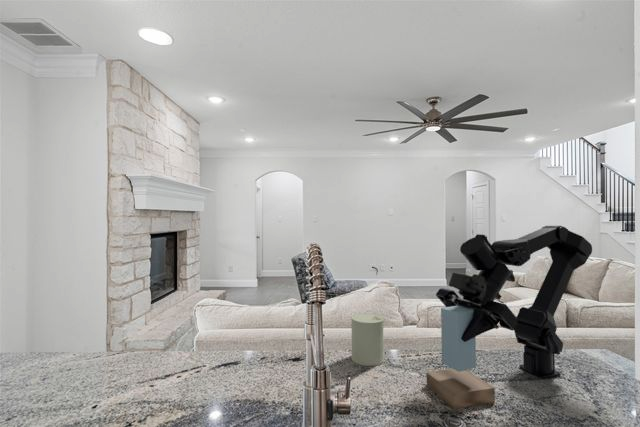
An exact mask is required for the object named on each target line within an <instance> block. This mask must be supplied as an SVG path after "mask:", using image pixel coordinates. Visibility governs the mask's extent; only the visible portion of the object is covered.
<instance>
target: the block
mask: <svg viewBox="0 0 640 427" xmlns="http://www.w3.org/2000/svg"><path fill="white" fill-rule="evenodd" d="M472 318H473V310H470V309H467V308H464V307H460V306H451V307H446V306H444V307H441V308H440V322H441V325H440V326H441V327H440V328H441V330H440V332H441V333H440V334H441V363H442V364H444V365H445V366H447V367H449V368H450V369H454V370H456V371H458V372H461V371H465V370H468V371H469V370H473V369H477V358H476V356H477V354H476V353H477V352H476V351H477V348H476V337H474V338H472V339H470V340H468V341H466V342H464V341H463V340H462V339H461V338H462V335H463V333H464V331H465V330H466V328H467V326H468V325H469V323H470V321H471V320H472Z"/></svg>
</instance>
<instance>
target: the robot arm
mask: <svg viewBox="0 0 640 427" xmlns="http://www.w3.org/2000/svg"><path fill="white" fill-rule="evenodd" d="M486 236H487V235H485V234H479V233H478V234H476V236H474V237H471V238H469V239H467V240H466V241H465V242H462V243H461V246H460V248H459V250H460V253H461V254H462V255H463V257H464V258H465V259H466V260H467V262H468V263H469V264H470V265H471V267H472V268H473V269H474V270H475V271H479V272H478V274H475V273H474V274H472V276H469V275H465V274H462V273H456V272H452V273H451V277H450V280H449V282H448V287H451V288H452V287H453V288H454V289H457V290H458V293H459V295H458V294H457V292H455V291H454V290H452V289H448V288H444V287H442V288H439V289H438V291H437V292H436V293H435V296H436V297H437V299H438V300H439V301H440V302H441V303H442V304H443V305H444V307H451V306H460V307H464V308H467V309H470V310H473V318H472V320H471V321H470V323H469V325H468V326H467V328H466V330H465V331H464V333H463V335H462V338H461V339H462V340H463V341H464V342H466V341H468V340H470V339H472V338H474V337H475V338H476V337H477V336H480V335H482V334H485V333H486V332H489V331H491V330H493V329H496V330H498V329H499V325H500V327H501V328H503V329H506V330H510V331H512V332H513V331H514V335H515V339H516V342H517V344H520V345H523V353H522V354H523V356H522V358H523V359H522V360H523V364H519V368H521V369H522V370H524V371H526V372H528V373H531V374H532V375H534V376H536V377H538V378H539V379H544V378H545V379H546V378H552V377H557V376H561V372H559V371H557V370H555V369H556V368H555V367H556V366H555V364H556V363H555V355H560V353H562V352H563V347H564V342H563V341H562V340H561V338H560V337H559V336H558V335H557V332H556V331H557V330H558V327H557V323H556V321H555V320H556V319H555V316H554V315H555V314H556V311H557V310H558V308H559V307H558V306H559V304H560V302H561V300H562V299H563V298H562V297H563V295H564V294H565V291H566V289H567V287H568V284H569V282H570V280H571V279H572V278H571V277H572V276H573V273H574V271H575V270H577V269H579V268H580V267H581V266H583V265H585V264H586V263H587V261H588V260H589V258H590V256H591V255H592V253H593V246H592V244H591V243H590V242H589V241H588V240H587V238H585V237H583V236H582V235H580V234H579V233H578V234H577V233H576V232H573V231H571V230H569V229H568V228H566V226H563V225H544V226H542V227H541V228H540V229H537V230H535V231H532V232H530V233H528V234H525V235H523V236H520V237H519V238H515V239H504V240H497V241H494V242H493V243H492V244H491V243H490V241H489V240H488V238H487V237H486ZM545 248H547V249H549V254H550V258H551V261H552V262H551V264H550V266H549V269H548V271H547V273H546V275H545V277H544V279H543V282H542V284H541V286H540V288H539V291H537V292H538V293H537V294H536V297H535V299H534V301H533V302H532V305H530V306H529V307H525V306H522V307H520V309H519V311H518V314H517V316H516V315H515V314H514V312H512V310H511V309H510V307H509V306H508V305H507V304H505V303H502V302H499V301H500V299H501V298H502V295H501V294H500V293H501V292H500V291H501V290H502V289H503V287H504V286H505V284H506V282H507V281H508V282H513V283H514V282H516V278H515V275H514V271H513V270H512V269H510V268H509V267H508V266H512V267H513V266H514V267H521V266H523V265H524V264H525V263H527V262H529V261H530V259H531V255H533V254H534V253H536V252H539V251H540V250H542V249H545ZM460 296H462V298H461V297H460ZM496 300H498V302H497V301H496ZM498 324H499V325H498Z"/></svg>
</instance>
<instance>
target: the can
mask: <svg viewBox="0 0 640 427" xmlns="http://www.w3.org/2000/svg"><path fill="white" fill-rule="evenodd" d="M350 320H351V361H352V362H353V363H355V364H357V365H360V366H365V367H375V366H379V365H382V364H383V363H384V362H385V353H384V352H385V351H384V321H385V320H384V317H383V316H381V315H378V314H376V313H367V312H366V313H365V312H364V313H357V314H353V315H351V318H350Z"/></svg>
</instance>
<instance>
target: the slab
mask: <svg viewBox="0 0 640 427" xmlns="http://www.w3.org/2000/svg"><path fill="white" fill-rule="evenodd" d="M426 386H427V387H429V388H430V389H431V390H432V391H433V392H434V393H435V394H436V395H437V396H438V397H440V398H441V399H442V400H443V401H445V402H446V403H447V405H449V406H450V407H452V408H453V409H460V408H468V407H473V406H480V405H486V404H491V403H492V404H493V403H495V402H496V396H495V395H496V393H495V390H496V389H495V387H494V386H492V385H490V383H488V382H486V381H485V380H483V379H481V378H480V377H479V376H477V375H475V374H474V373H472V372H471V371H469V370H465V371H461V372H458V371H456V370H454V369H453V368H450V369H449V368H448V369H447V368H446V369H440V370H433V371H426Z"/></svg>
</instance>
